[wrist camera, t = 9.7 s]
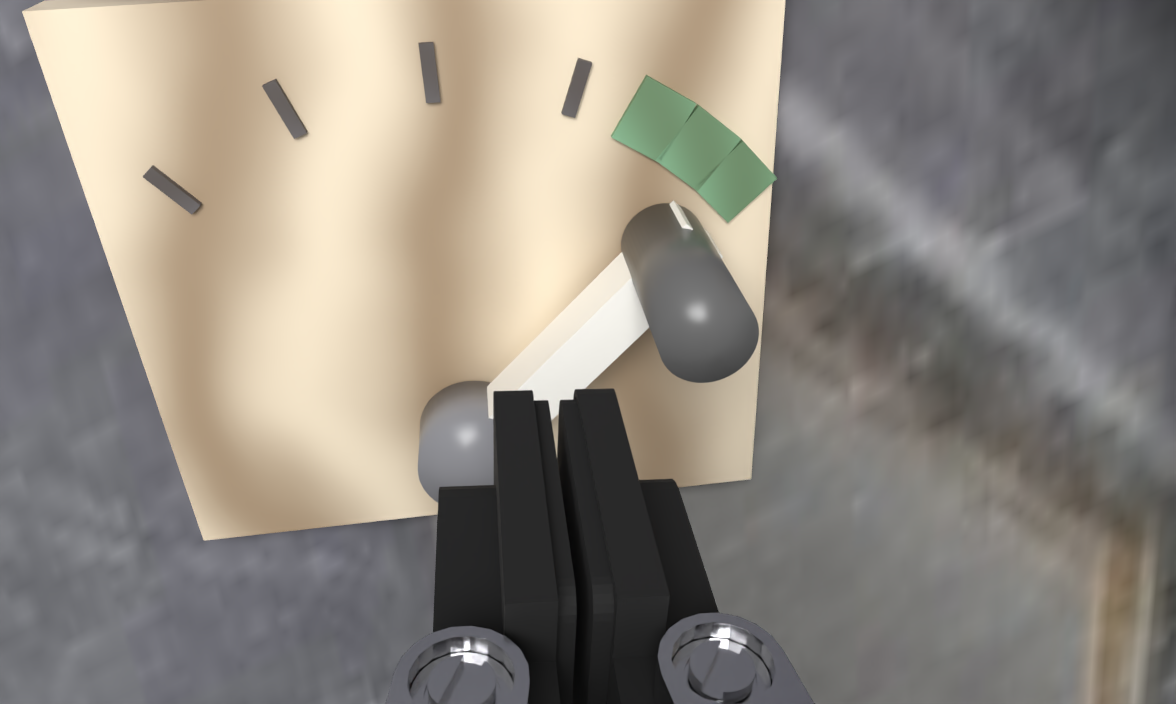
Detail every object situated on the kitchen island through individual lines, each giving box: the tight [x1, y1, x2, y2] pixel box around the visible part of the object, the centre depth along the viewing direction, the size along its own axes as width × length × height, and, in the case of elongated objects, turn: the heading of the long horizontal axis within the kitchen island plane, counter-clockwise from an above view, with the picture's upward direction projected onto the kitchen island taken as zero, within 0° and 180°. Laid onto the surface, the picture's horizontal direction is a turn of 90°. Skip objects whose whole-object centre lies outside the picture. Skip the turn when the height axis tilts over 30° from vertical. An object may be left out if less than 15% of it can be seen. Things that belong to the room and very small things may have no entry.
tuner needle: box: [418, 200, 759, 503], centre depth 27 cm, size 12×4×6 cm, turn 136°
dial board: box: [22, 0, 785, 541], centre depth 29 cm, size 20×18×2 cm
